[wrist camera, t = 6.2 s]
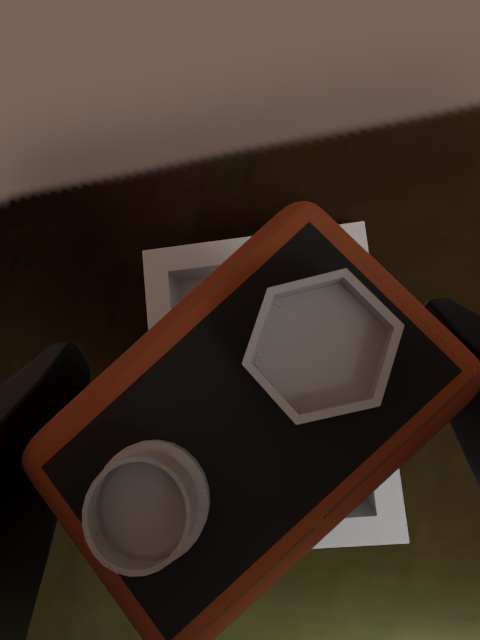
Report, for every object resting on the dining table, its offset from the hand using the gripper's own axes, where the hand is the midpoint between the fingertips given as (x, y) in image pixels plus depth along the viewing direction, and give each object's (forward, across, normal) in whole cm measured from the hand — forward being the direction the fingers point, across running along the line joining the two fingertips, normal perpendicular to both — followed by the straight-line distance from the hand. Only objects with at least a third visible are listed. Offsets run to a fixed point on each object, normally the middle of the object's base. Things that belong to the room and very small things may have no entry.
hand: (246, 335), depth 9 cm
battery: (+3, 0, +6) cm, 7 cm away
